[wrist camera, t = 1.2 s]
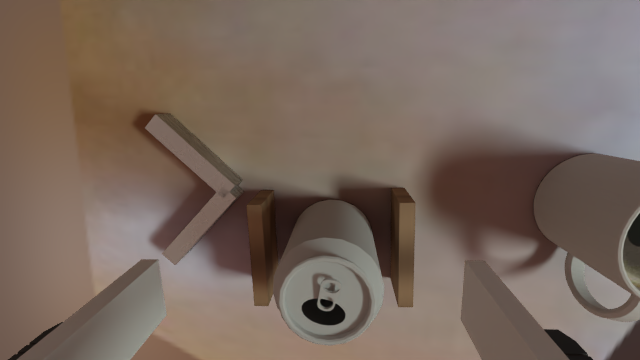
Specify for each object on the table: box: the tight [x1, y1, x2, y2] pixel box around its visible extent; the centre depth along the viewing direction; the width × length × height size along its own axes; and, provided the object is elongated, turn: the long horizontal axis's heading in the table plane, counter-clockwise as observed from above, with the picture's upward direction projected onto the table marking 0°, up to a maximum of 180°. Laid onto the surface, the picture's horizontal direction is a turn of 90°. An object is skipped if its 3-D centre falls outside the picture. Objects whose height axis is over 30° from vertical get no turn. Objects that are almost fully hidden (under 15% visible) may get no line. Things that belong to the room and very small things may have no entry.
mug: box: [533, 154, 640, 322], centre depth 26 cm, size 11×10×10 cm
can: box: [273, 200, 384, 346], centre depth 27 cm, size 8×8×12 cm
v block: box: [145, 114, 244, 265], centre depth 32 cm, size 14×8×2 cm, turn 2°
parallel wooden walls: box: [246, 188, 415, 307], centre depth 31 cm, size 9×13×5 cm
